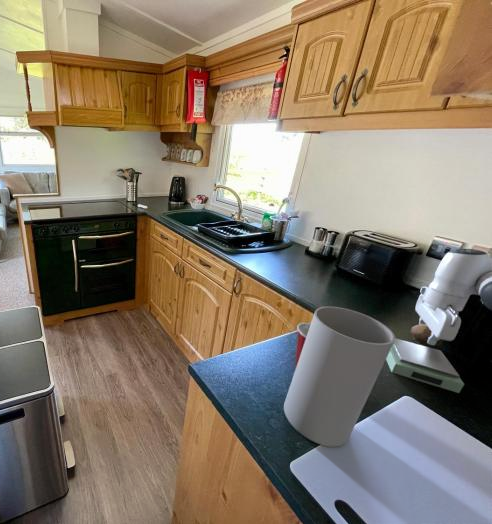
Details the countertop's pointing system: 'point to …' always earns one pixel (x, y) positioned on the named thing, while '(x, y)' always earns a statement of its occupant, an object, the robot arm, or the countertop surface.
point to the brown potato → (423, 335)
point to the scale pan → (423, 357)
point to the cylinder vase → (336, 374)
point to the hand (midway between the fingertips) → (425, 337)
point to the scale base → (423, 374)
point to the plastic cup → (301, 338)
